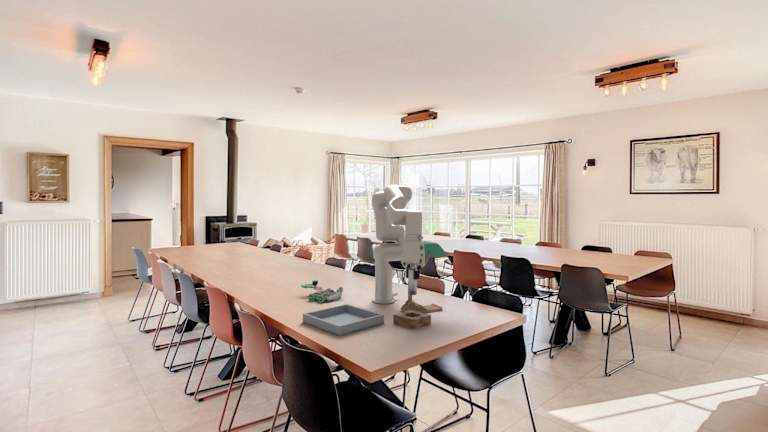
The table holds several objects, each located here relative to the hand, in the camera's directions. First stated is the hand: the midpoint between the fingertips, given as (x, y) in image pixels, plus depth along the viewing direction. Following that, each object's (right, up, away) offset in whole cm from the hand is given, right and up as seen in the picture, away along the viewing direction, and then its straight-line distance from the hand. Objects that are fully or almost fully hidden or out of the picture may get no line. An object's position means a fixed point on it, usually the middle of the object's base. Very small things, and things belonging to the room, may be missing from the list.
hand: (412, 277), depth 192 cm
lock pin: (0, -7, 0) cm, 7 cm away
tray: (-31, -20, 0) cm, 37 cm away
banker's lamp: (+7, -20, +23) cm, 32 cm away
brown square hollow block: (0, -21, +1) cm, 21 cm away
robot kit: (-50, -19, +48) cm, 72 cm away
